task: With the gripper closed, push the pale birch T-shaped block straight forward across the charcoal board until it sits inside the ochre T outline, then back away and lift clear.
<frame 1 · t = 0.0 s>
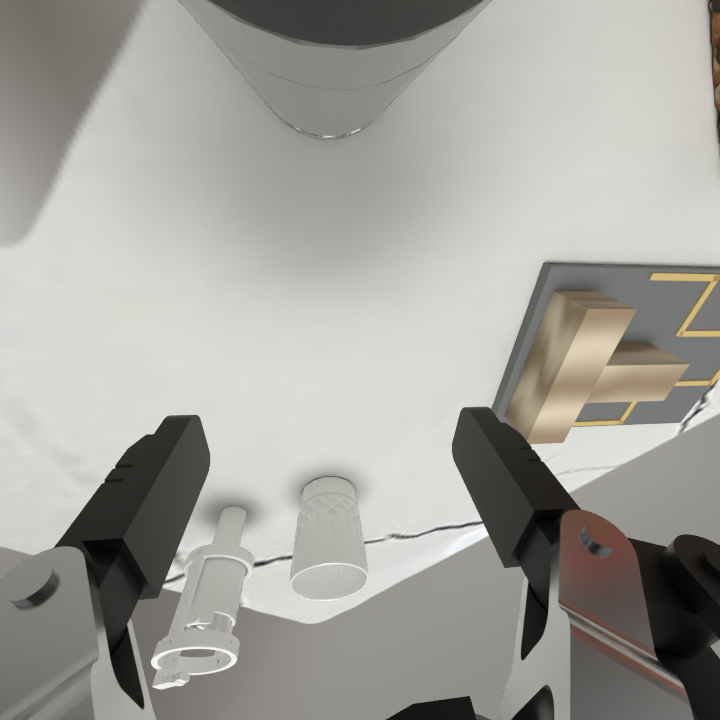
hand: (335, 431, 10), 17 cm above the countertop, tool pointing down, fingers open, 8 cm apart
white cup: (328, 491, 39), on the countertop
target board: (620, 354, 31), on the countertop
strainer: (234, 512, 39), on the countertop
t block: (545, 361, 30), point 1 cm above the countertop, touching target board
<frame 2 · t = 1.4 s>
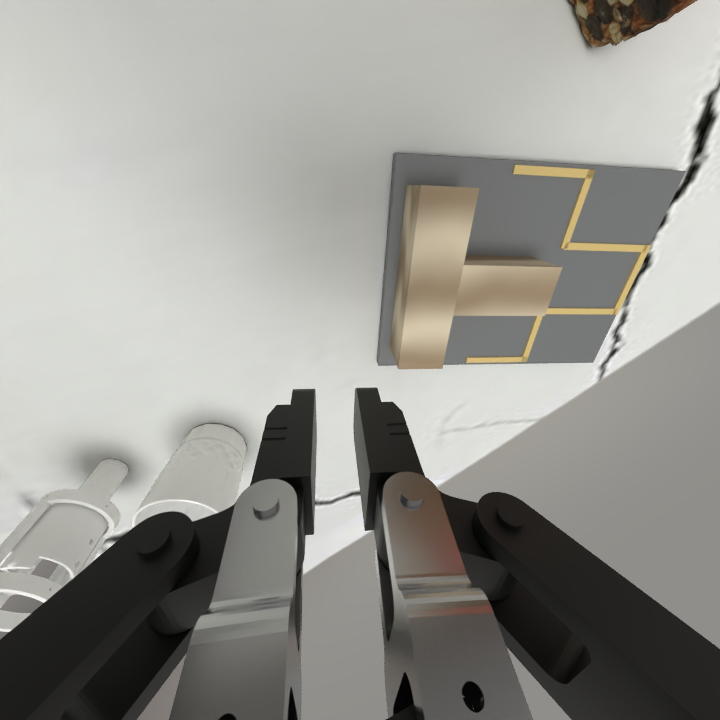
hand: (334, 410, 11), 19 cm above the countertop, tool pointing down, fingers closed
white cup: (217, 443, 36), on the countertop
target board: (509, 276, 29), on the countertop
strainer: (114, 467, 36), on the countertop
t block: (419, 277, 27), point 1 cm above the countertop, touching target board
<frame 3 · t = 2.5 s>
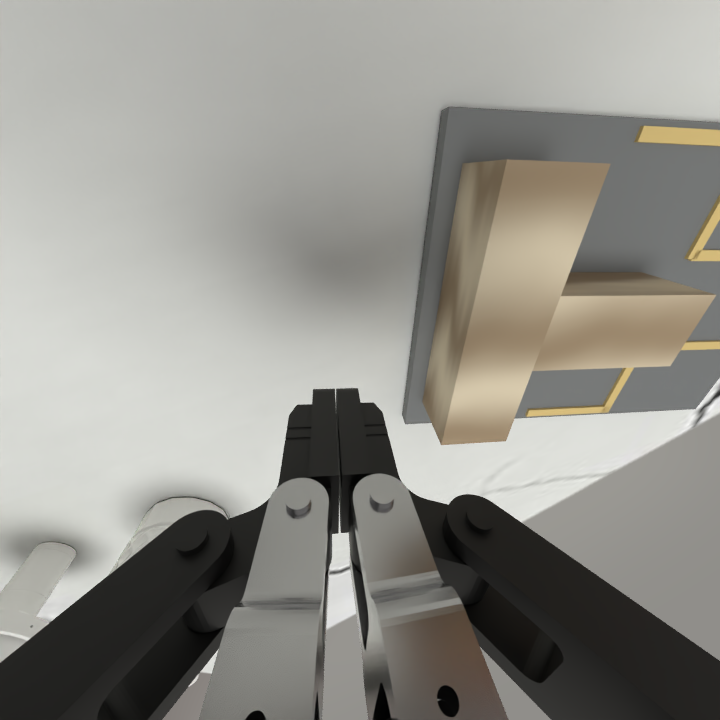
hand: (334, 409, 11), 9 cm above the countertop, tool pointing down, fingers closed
white cup: (190, 518, 27), on the countertop
target board: (598, 299, 20), on the countertop
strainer: (57, 549, 27), on the countertop
t block: (471, 306, 18), point 1 cm above the countertop, touching target board
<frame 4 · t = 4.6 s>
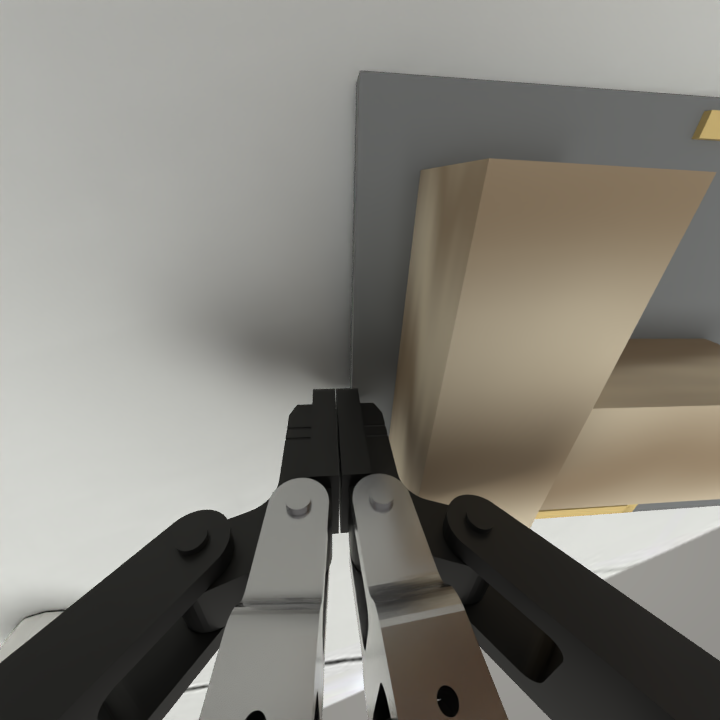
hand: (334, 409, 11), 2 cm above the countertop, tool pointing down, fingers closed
white cup: (79, 629, 21), on the countertop
target board: (620, 369, 14), on the countertop
t block: (445, 385, 12), point 1 cm above the countertop, touching gripper
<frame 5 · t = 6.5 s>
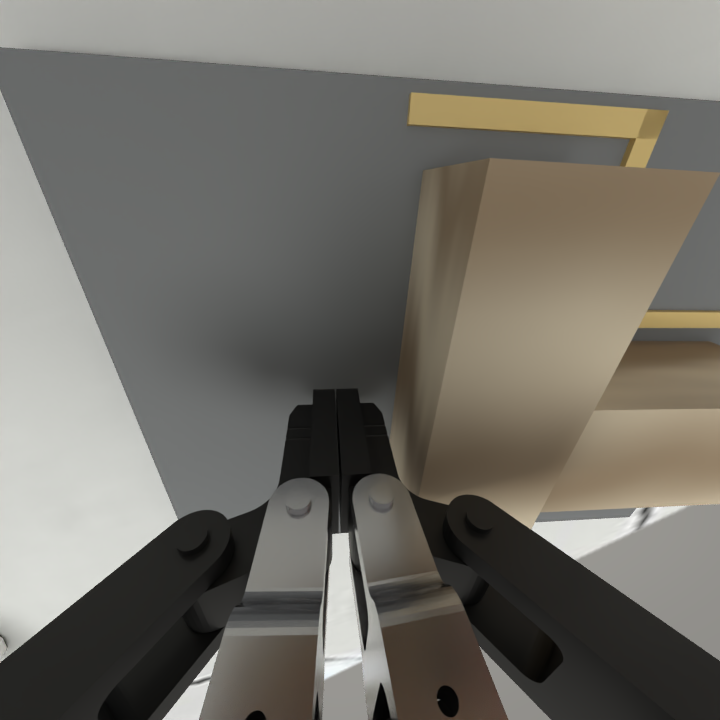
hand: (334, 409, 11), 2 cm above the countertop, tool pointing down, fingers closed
target board: (445, 375, 13), on the countertop
t block: (447, 386, 12), point 1 cm above the countertop, touching gripper, target board
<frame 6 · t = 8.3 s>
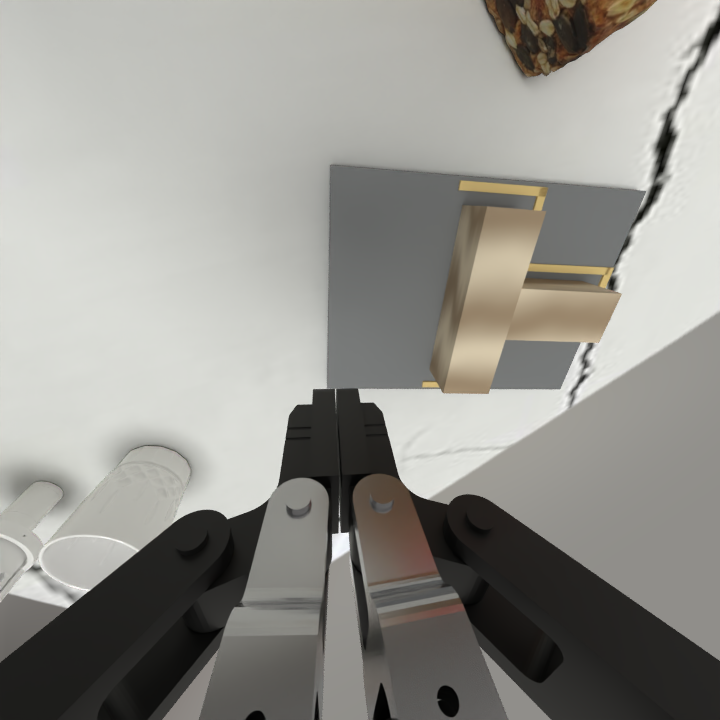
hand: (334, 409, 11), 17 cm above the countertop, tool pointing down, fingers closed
white cup: (159, 466, 33), on the countertop
target board: (464, 297, 27), on the countertop
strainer: (48, 489, 33), on the countertop
t block: (466, 298, 26), point 1 cm above the countertop, touching target board
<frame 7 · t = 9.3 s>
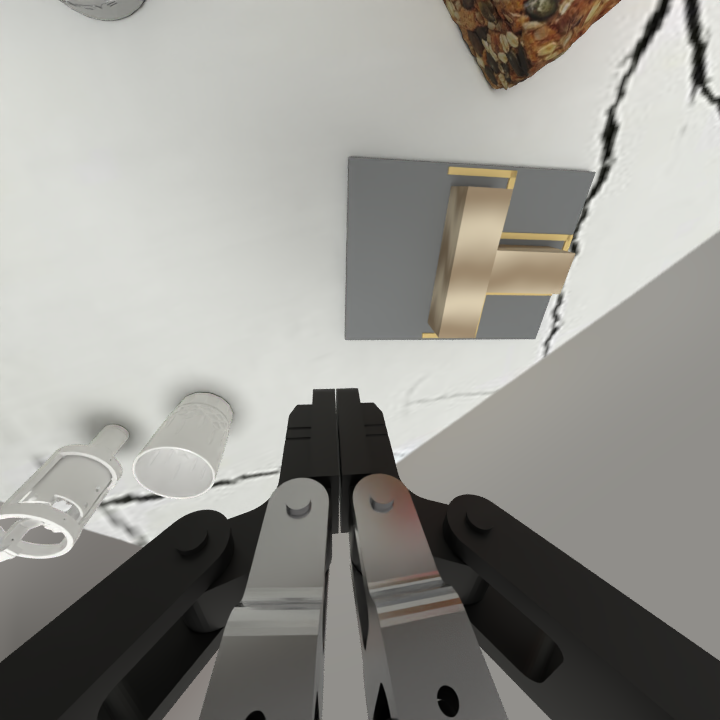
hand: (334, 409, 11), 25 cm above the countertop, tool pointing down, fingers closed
white cup: (207, 411, 40), on the countertop
target board: (455, 261, 34), on the countertop
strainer: (116, 432, 41), on the countertop
t block: (456, 262, 33), point 1 cm above the countertop, touching target board
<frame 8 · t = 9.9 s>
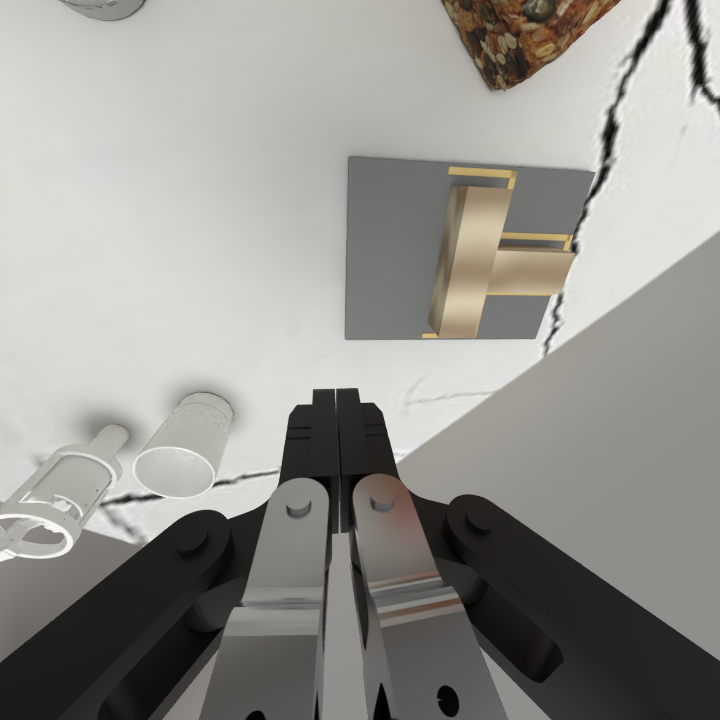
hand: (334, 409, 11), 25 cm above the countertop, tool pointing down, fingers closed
white cup: (207, 411, 40), on the countertop
target board: (455, 261, 34), on the countertop
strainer: (116, 432, 41), on the countertop
t block: (456, 262, 33), point 1 cm above the countertop, touching target board
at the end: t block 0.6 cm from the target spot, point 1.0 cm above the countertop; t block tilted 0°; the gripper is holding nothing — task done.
